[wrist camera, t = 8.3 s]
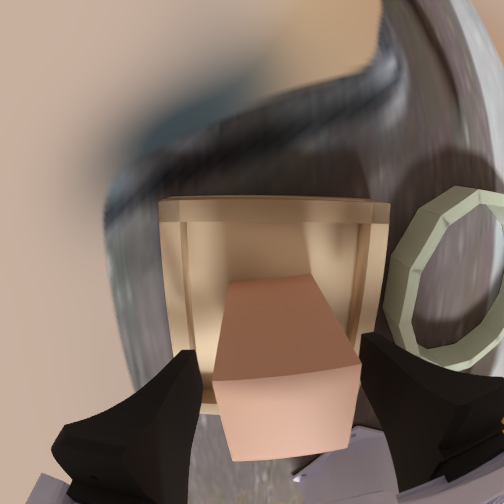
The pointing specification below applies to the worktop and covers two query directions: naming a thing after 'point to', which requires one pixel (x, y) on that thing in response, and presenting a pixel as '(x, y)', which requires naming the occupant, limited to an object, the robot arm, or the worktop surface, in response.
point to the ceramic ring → (413, 262)
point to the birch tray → (267, 261)
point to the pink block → (283, 371)
